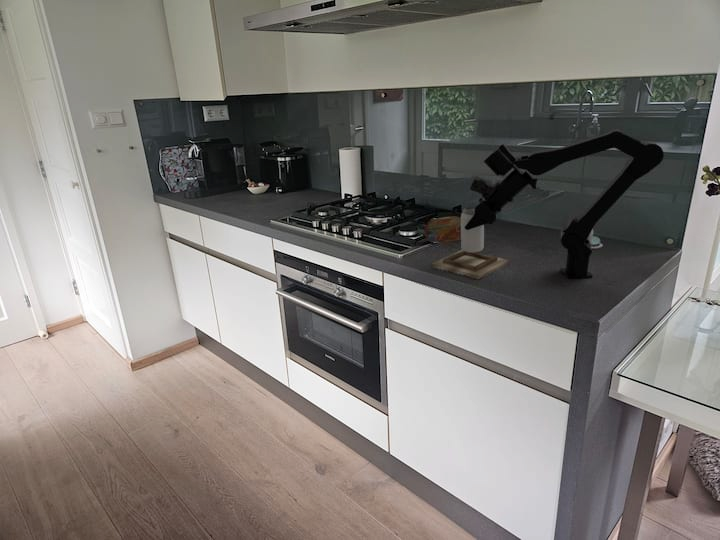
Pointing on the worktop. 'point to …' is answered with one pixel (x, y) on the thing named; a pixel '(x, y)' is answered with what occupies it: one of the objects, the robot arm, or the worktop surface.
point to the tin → (443, 229)
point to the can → (471, 233)
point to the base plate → (470, 264)
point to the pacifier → (594, 241)
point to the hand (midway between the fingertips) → (467, 225)
